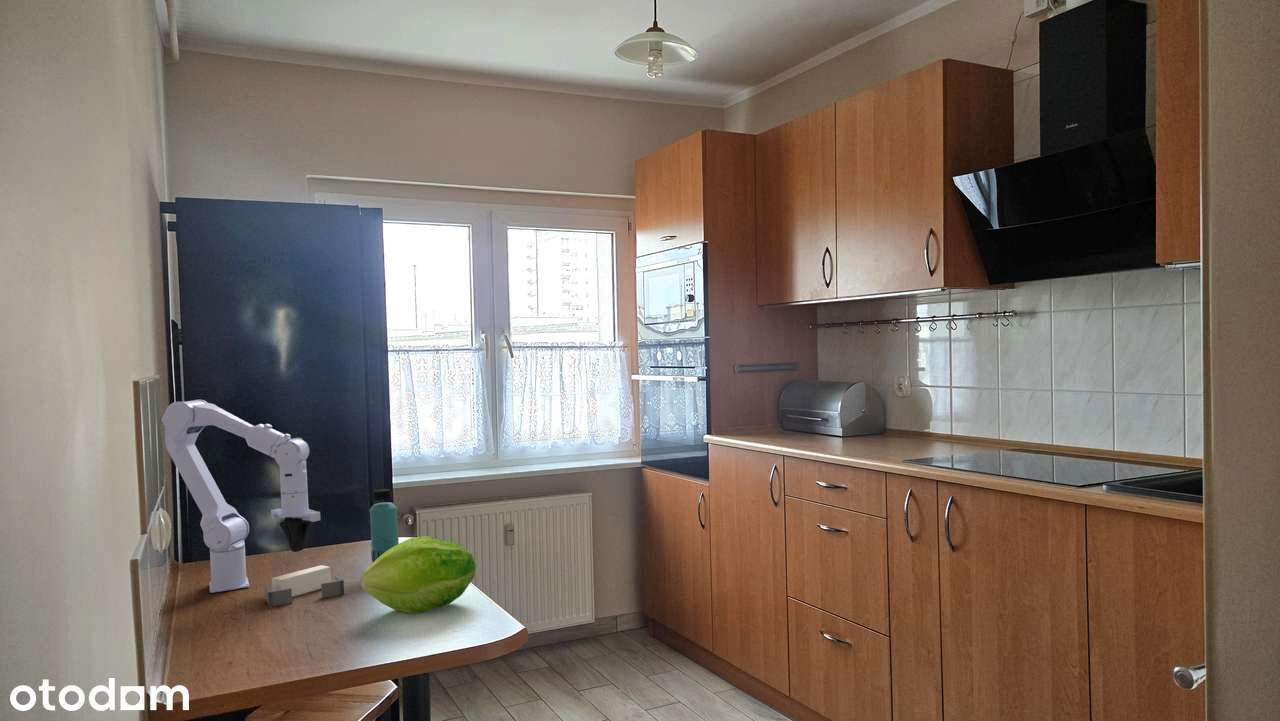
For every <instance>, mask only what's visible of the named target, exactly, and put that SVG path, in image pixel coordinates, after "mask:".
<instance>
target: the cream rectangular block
mask: <svg viewBox="0 0 1280 721" xmlns="http://www.w3.org/2000/svg"><path fill="white" fill-rule="evenodd" d="M326 582H332V577H331V566H327V565H323V564H321V565H316V566H313V567H308V568H306V569H301V570H297V571H294V572H290V573H289V572H288V573H286V574H283V575H278V576H275V577H271V590H272V591H276V590H282V589H288V588H291V589H292V598H293V597H296V596H300V595H304V594H307V593H311V592H314V591H318V590H320V589H321V583H326Z"/></svg>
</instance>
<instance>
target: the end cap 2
mask: <svg viewBox="0 0 1280 721" xmlns="http://www.w3.org/2000/svg"><path fill="white" fill-rule="evenodd" d="M320 593H321V599H325V598H329V597H336V596H340V595H343V596H344V595H345V585H344V579H343V578H342V577H341V575H340V574H335V580H331V582H326V583H321V592H320Z"/></svg>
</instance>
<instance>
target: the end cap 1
mask: <svg viewBox="0 0 1280 721" xmlns="http://www.w3.org/2000/svg"><path fill="white" fill-rule="evenodd" d="M265 590H266V591H265V593H266V594H265V596H266V602H267V605H268V608H270V607H276V606H277V607H278V606H282V605H283V606H284V605H289V604H292V603H293V597H292V589H291V588H288V589H282V590H276V591H272V586H271V585H266V586H265Z"/></svg>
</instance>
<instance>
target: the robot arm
mask: <svg viewBox="0 0 1280 721" xmlns="http://www.w3.org/2000/svg"><path fill="white" fill-rule="evenodd" d="M161 422H162V424H163V426H164V440H165V441H164V443H165V448H166V451H167V452H168V454H169V456H170V458H171V460H172V461H173V463H174V465H175V467H176V469H177V471H178V472H179V473H180V476H181V477H182V480H183V481H184V483H185V485H186V487H187V489H188V491H189V492H190V494H191V497H192V498H193V500H194V502H195V503H196V506H197V507H198V509H199V511H200V513H201V515H202V517H201V518H200V519H201V520H200V525H199V526H200V527H201V530H202V532H203V533H202V536H203V542H204V544H205V546H207V548H209V554H210V555H209V558H210V562H209V564H210V581H209V582H208V584H209V585H208V586H209V593H210V594H212V593H219V592H226V591H233V590H239V589H244V588H249V587H250V582H249V578H248V577H247V566H246V564H247V563H246V561H247V560H246V544H245V540H246V538H247V537H248V535H249V533H250V524H249V521H247V519H246V518H244V517H243V516H241V515H240V513H239V512H238V511H237V509H236V507H233V506H232V505H230V504H228V503H227V502H226V499H225V498H224V495H223V494H222V493H221V490H220V489H219V487H218V485H217V483H216V480H215V479H214V477H213V476H212V474H211V472H210V470H209V469H208V466H207V465H206V462H205V461H204V459H203V457H202V455H201V454H200V452H199V450H198V448H197V446H196V442H197V438H198V437H199V434H200V433H201V432H202V430H203V429H204V428H205V427H206V426H214V427H217V428H218V429H222V430H224V431H226V432H229V433H231V434H233V435H236V436H238V437H241V438H244V439H245V442H246V444H247V446H248V447H250V448H252V449H254V450H256V451H259V452H261V453H263V454H264V455H267V456H269V457H271V458H273V459H274V460H275V462H276V463H277V465H278V466H279V481H280V482H279V483H280V498H281V499H280V501H281V502H280V503H281V504H280V505H281V508H276V509H275V508H274V509H271V510H270V514H271V519H284V520H283V521H280V522H279V526H280V528H281V529H282V531H283V532H284V534H285V537H286V539H287V541H288V542H287V543H288V544H289V548H290V550H291V552H292V553H296V552H302V551H303V550H304V546H305V542H306V541H305V540H306V536H307V534H308V531H309V528H310V526H311V525H312V523H315V522H318V521H321V511H316V510H313V509H310V508H309V493H308V492H309V491H308V474H307V472H308V470H307V459H308V457H309V455H310V447H309V445H308V442H306V441H305V440H303V438H301V437H295V438H294V437H293V438H291V437H292V436H291V434H289V433H285V434H284V433H283V432H281V431H278V430H276V429H273V425H272V424H270V423H265V424H263V423H258V424H257V425H253V424H251V423H249V422H247V421H245V420H244V419H241V418H240V417H238V416H236V415H234V414H232V413H230V412H228V411H226V410H225V409H223V408H221V407H219V406H217V405H216V404H214V403H211V402H207V401H206V400H205V399H204V400H203V399H194V400H188V401H174V402H172V403H170V404H169V405H168V406H167V407H166V408H165V411H164V413H163V415H162V418H161Z"/></svg>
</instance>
